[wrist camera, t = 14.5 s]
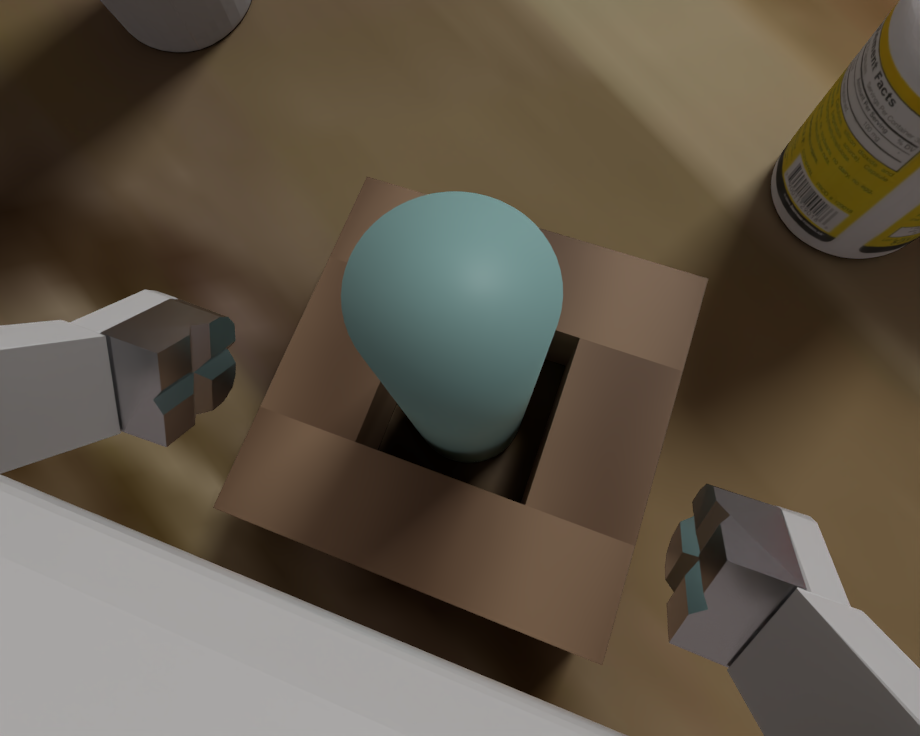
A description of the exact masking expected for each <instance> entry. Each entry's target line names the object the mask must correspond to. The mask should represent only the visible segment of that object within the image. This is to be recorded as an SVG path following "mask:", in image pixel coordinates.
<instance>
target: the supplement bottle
mask: <svg viewBox="0 0 920 736" xmlns="http://www.w3.org/2000/svg"><path fill="white" fill-rule="evenodd" d="M771 193H772V199H773V202H774V205H775V208H776V210H777V213H778V214H779V216H780V218H781V219H782V221H783V222H784V223H785V225H786V226H787V227H788V229H789V230H790V231H791V232H792V233H793V234H794V235H795V236H797V237H798V238H799V239H800V240H802V241H803V242H805V243H807V244H808V245H810V246H812V247H813V248H815V249H818V250H820V251H822V252H825V253H828V254H831V255H835V256H839V257H844V258H854V259H865V258H873V257H879V256H883V255H886V254H889V253H892V252H894V251H896V250H899V249H900V248H902V247H904V246H905V245H907V244H909V243H910V242H912V241H914V240H915V239H917V238H918V237H920V0H899V1H898V3H897V4H896V5H895V7H894V8H893V9H892V10H891V12H890V13H889V14H888V15H887V17H886V18H885V20H884V21H883V22H882V24H881V25H880V26H879V27H878V29H877V30H876V31H875V32H874V34H873V35H872V36H871V38H870V39H869V40H868V42H867V43H866V44H865V45H864V47H863V48H862V49H861V50H860V52H859V53H858V54H857V56H856V57H855V58H854V59H853V60H852V62H851V63H850V65H849V66H848V67H847V68H846V70H845V71H844V72H843V74H842V75H841V76H840V77H839V79H838V80H837V81H836V82H835V84H834V85H833V86H832V88H831V89H830V90H829V91H828V93H827V94H826V95H825V97H824V98H823V99H822V101H821V102H820V103H819V104H818V105H817V107H816V108H815V109H814V111H813V112H812V113H811V115H810V116H809V117H808V118H807V120H806V121H805V122H804V124H803V125H802V126H801V127H800V129H799V130H798V131H797V133H796V134H795V135H794V136H793V138H792V139H791V141H790V142H789V143H788V145H787V146H786V147H785V149H784V150H783V152H782V153H781V155H780V156H779V158H778V160H777V162H776V164H775V167H774V170H773V174H772V179H771Z"/></svg>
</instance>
